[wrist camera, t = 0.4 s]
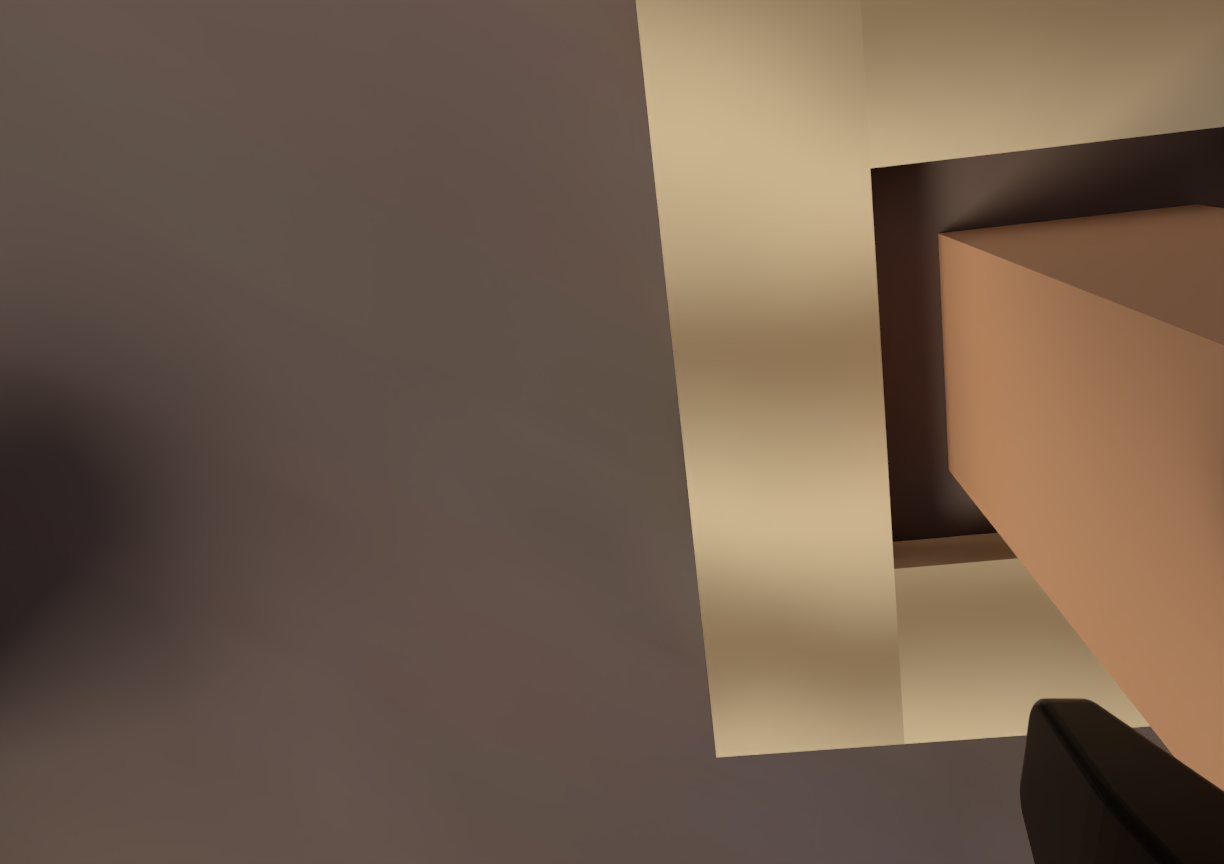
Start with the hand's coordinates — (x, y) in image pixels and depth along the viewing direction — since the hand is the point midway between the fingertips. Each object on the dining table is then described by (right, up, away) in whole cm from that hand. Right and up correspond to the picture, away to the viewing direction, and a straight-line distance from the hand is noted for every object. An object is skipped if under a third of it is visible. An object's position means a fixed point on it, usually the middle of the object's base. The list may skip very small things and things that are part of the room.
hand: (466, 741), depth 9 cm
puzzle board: (+10, +4, +14) cm, 18 cm away
